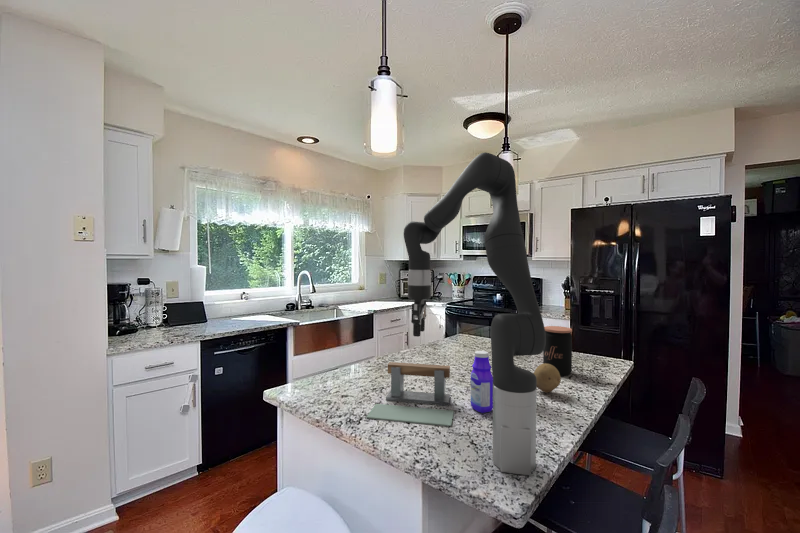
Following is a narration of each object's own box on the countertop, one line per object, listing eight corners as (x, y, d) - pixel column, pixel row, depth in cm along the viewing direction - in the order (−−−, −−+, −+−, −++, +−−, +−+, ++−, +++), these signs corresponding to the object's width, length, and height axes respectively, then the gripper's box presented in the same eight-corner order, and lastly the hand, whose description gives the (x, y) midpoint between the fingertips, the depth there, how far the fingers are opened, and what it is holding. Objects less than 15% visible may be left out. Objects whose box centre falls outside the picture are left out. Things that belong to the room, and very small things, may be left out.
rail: (449, 378, 117) (449, 368, 117) (387, 373, 121) (387, 364, 121) (449, 375, 120) (449, 365, 120) (389, 370, 124) (389, 361, 124)
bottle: (466, 406, 115) (467, 350, 114) (482, 403, 117) (483, 348, 116) (480, 415, 108) (480, 355, 108) (496, 412, 110) (497, 354, 110)
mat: (451, 426, 100) (451, 425, 100) (366, 418, 105) (366, 416, 105) (453, 412, 110) (453, 410, 110) (376, 404, 115) (376, 403, 115)
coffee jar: (537, 370, 152) (537, 327, 152) (556, 367, 157) (556, 325, 157) (558, 378, 143) (558, 331, 142) (577, 374, 147) (578, 329, 147)
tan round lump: (564, 398, 122) (565, 368, 122) (537, 397, 122) (537, 367, 122) (555, 388, 131) (555, 360, 131) (529, 388, 131) (529, 360, 131)
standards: (448, 405, 115) (448, 372, 115) (385, 400, 119) (386, 367, 119) (450, 397, 122) (450, 366, 122) (391, 392, 126) (391, 362, 126)
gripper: (427, 285, 112) (427, 338, 112) (433, 282, 126) (433, 330, 126) (403, 285, 114) (403, 337, 114) (412, 282, 128) (411, 329, 128)
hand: (419, 333), depth 120 cm, fingers open, 8 cm apart
